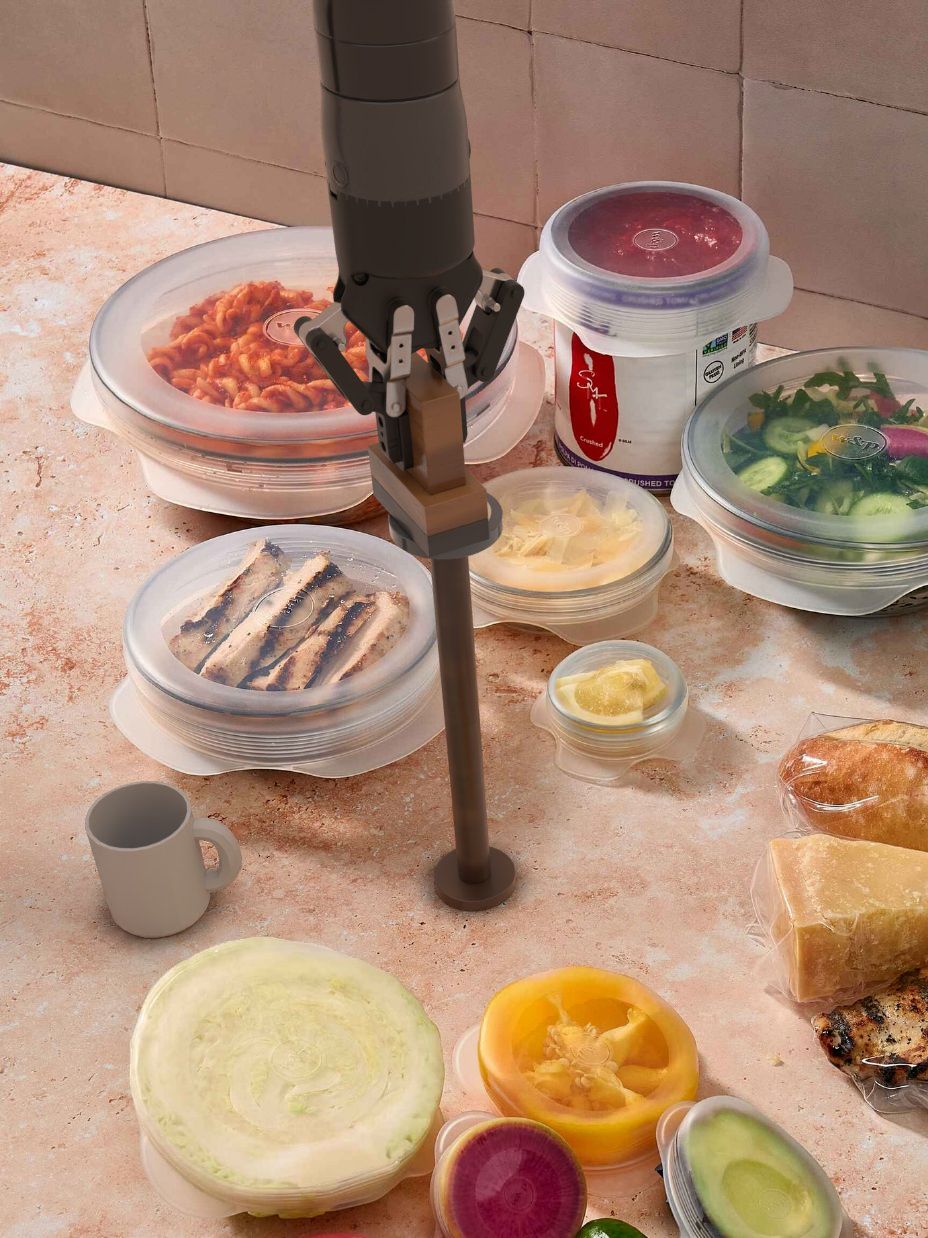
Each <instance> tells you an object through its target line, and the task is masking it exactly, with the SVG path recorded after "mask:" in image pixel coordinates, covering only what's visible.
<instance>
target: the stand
mask: <svg viewBox="0 0 928 1238" xmlns="http://www.w3.org/2000/svg"><path fill="white" fill-rule="evenodd" d="M429 566H430V575H431V587H432V596H433V609H434V619H435V630H436V641H437V643H436V644H437V652H438V662H439V663H438V665H439V674H440V675H439V677H440V686H441V698H442V707H443V708H442V709H443V718H444V731H445V742H446V753H447V763H448V775H449V782H450V783H449V786H450V795H451V808H452V819H453V830H454V840H455V849H453V850H451V851H449V852H447V853H446V854H445V855H444V856H442V857H441V858H440V860H439V861H438V862H437V864H436V865H435V868H434V872H433V881H434V888H435V889H434V890H435V892H436V894H437V895H438V897H439V899H441V900H442V901H443V902H444V903H445V904H447V905H448V906H450V907H452V908H454V909H457V910H462V911H467V912H468V911H469V912H479V911H485V910H489V909H491V908H495V907H497V906H498V905H500V904H502V903H504V902H505V901H506V900H508V898H509V897H510V896H511V895H512V893H513V892H514V890H515V887H516V882H517V878H516V868H515V867H516V866H515V864H514V861H513V860H512V859H511V857H510V856H509V855H508V854H506V853H505V852H504V851H503V850H500V849H498V848H496V847H493V846H491V845H490V839H489V827H488V812H487V798H486V797H487V796H486V783H485V769H484V757H483V755H484V754H483V744H482V743H483V741H482V729H481V713H480V700H479V686H478V685H479V684H478V672H477V659H476V645H475V644H476V643H475V629H474V618H473V617H474V616H473V603H472V602H473V601H472V589H471V587H472V586H471V573H470V560H469V556H467V557H463V558H457V559H443V560H442V559H429Z"/></svg>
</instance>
